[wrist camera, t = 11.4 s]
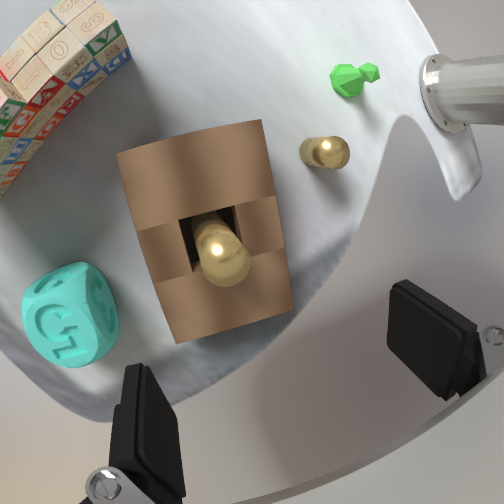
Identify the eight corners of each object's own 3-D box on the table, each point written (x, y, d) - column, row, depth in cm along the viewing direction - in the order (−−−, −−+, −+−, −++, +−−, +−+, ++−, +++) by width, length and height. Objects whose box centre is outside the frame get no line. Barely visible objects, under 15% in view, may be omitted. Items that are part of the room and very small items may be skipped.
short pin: (323, 136, 31) (347, 134, 26) (327, 164, 32) (351, 166, 27) (297, 140, 30) (318, 138, 26) (302, 168, 31) (323, 171, 27)
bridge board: (244, 126, 28) (261, 119, 23) (274, 285, 35) (294, 309, 29) (127, 154, 26) (115, 153, 21) (174, 313, 33) (176, 344, 27)
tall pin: (218, 205, 30) (245, 234, 19) (224, 234, 31) (254, 279, 20) (187, 213, 30) (196, 248, 19) (195, 242, 31) (208, 292, 20)
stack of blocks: (101, 23, 21) (71, -35, 9) (133, 57, 23) (113, 2, 12) (-27, 167, 21) (-95, 180, 10) (-1, 203, 24) (-67, 231, 12)
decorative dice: (67, 333, 30) (49, 374, 23) (39, 274, 27) (9, 306, 20) (123, 317, 31) (114, 360, 24) (96, 254, 28) (75, 284, 21)
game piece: (342, 104, 30) (373, 97, 24) (322, 73, 28) (351, 60, 23) (366, 89, 30) (398, 81, 25) (347, 59, 28) (377, 46, 23)
